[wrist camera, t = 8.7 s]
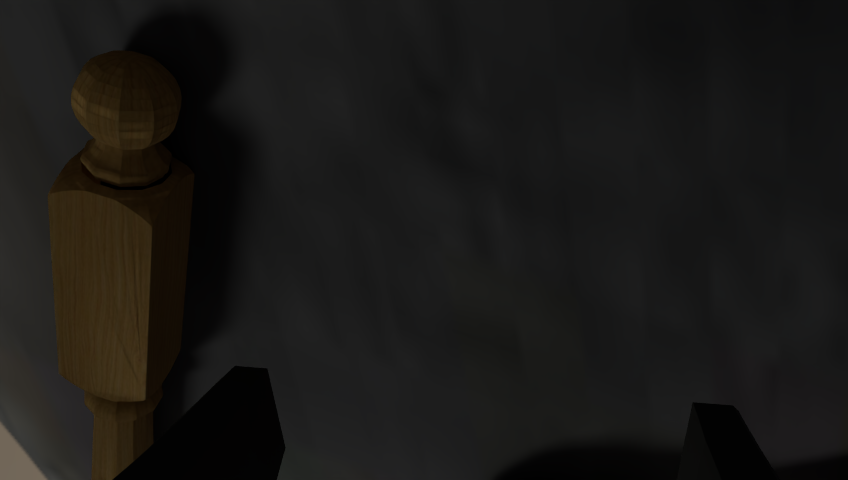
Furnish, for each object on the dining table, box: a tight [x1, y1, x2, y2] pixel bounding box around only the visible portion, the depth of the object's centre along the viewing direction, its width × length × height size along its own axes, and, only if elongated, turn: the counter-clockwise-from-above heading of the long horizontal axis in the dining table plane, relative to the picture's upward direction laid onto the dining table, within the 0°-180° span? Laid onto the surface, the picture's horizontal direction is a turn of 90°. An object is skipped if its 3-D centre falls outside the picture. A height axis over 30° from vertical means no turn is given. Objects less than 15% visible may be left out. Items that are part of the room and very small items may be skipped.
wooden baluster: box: [48, 51, 194, 480], centre depth 28 cm, size 3×3×30 cm
